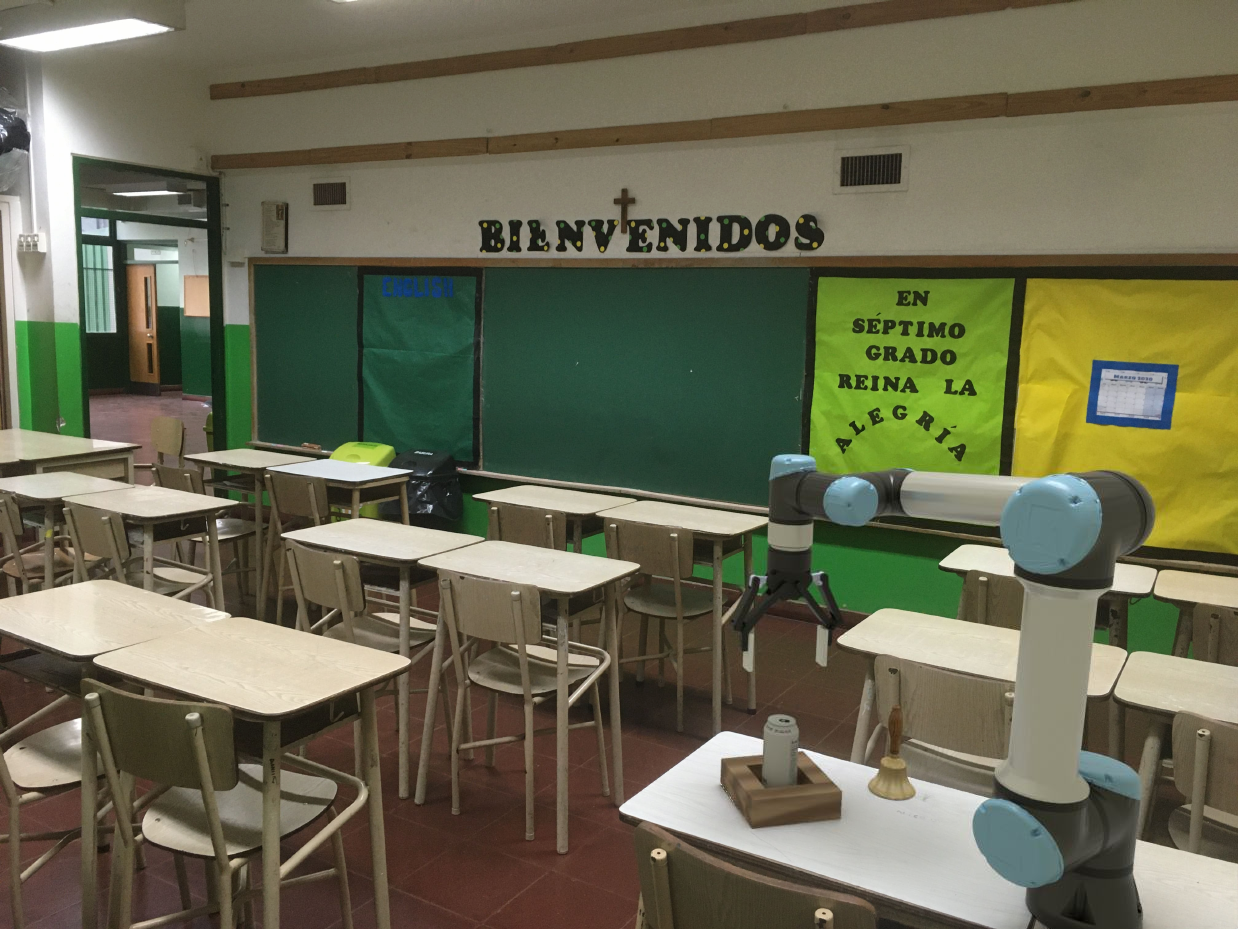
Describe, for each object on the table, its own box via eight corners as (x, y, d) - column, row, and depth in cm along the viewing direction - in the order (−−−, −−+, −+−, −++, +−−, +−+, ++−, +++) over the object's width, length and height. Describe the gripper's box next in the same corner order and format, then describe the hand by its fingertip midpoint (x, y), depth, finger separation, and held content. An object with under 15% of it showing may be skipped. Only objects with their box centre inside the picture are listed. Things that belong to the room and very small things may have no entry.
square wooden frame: (840, 818, 165) (842, 791, 164) (752, 828, 161) (753, 800, 160) (801, 776, 180) (802, 751, 180) (720, 784, 176) (721, 758, 176)
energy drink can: (764, 790, 174) (767, 711, 172) (798, 796, 172) (801, 716, 170) (758, 805, 169) (761, 723, 167) (792, 812, 167) (796, 729, 165)
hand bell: (921, 801, 172) (926, 715, 169) (874, 800, 172) (879, 714, 170) (908, 779, 180) (913, 697, 178) (863, 778, 180) (868, 696, 178)
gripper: (847, 538, 171) (841, 654, 174) (712, 543, 165) (709, 663, 168) (867, 548, 164) (861, 669, 166) (727, 553, 158) (723, 678, 161)
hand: (784, 666), depth 167 cm, fingers open, 13 cm apart
